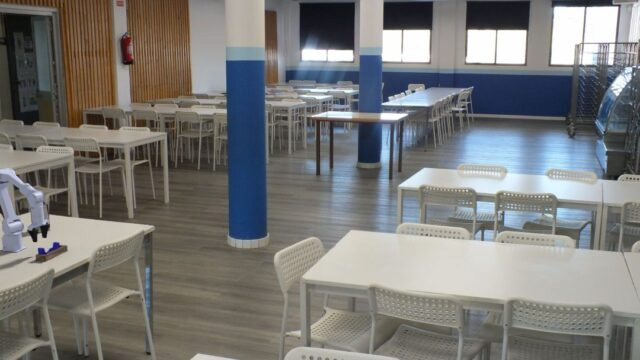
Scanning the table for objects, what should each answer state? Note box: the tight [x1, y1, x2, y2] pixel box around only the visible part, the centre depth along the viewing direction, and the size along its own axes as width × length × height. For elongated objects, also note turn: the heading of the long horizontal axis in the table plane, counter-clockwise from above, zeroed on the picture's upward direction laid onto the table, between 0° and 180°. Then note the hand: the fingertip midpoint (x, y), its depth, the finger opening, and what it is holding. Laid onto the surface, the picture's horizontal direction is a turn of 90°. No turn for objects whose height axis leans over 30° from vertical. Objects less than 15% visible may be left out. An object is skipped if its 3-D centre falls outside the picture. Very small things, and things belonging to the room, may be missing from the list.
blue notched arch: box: [37, 241, 61, 255], centre depth 342 cm, size 12×4×6 cm, turn 158°
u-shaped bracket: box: [35, 244, 68, 262], centre depth 343 cm, size 6×18×3 cm, turn 166°
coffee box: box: [29, 202, 51, 234], centre depth 387 cm, size 9×6×16 cm
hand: (39, 239), depth 343 cm, fingers open, 7 cm apart
